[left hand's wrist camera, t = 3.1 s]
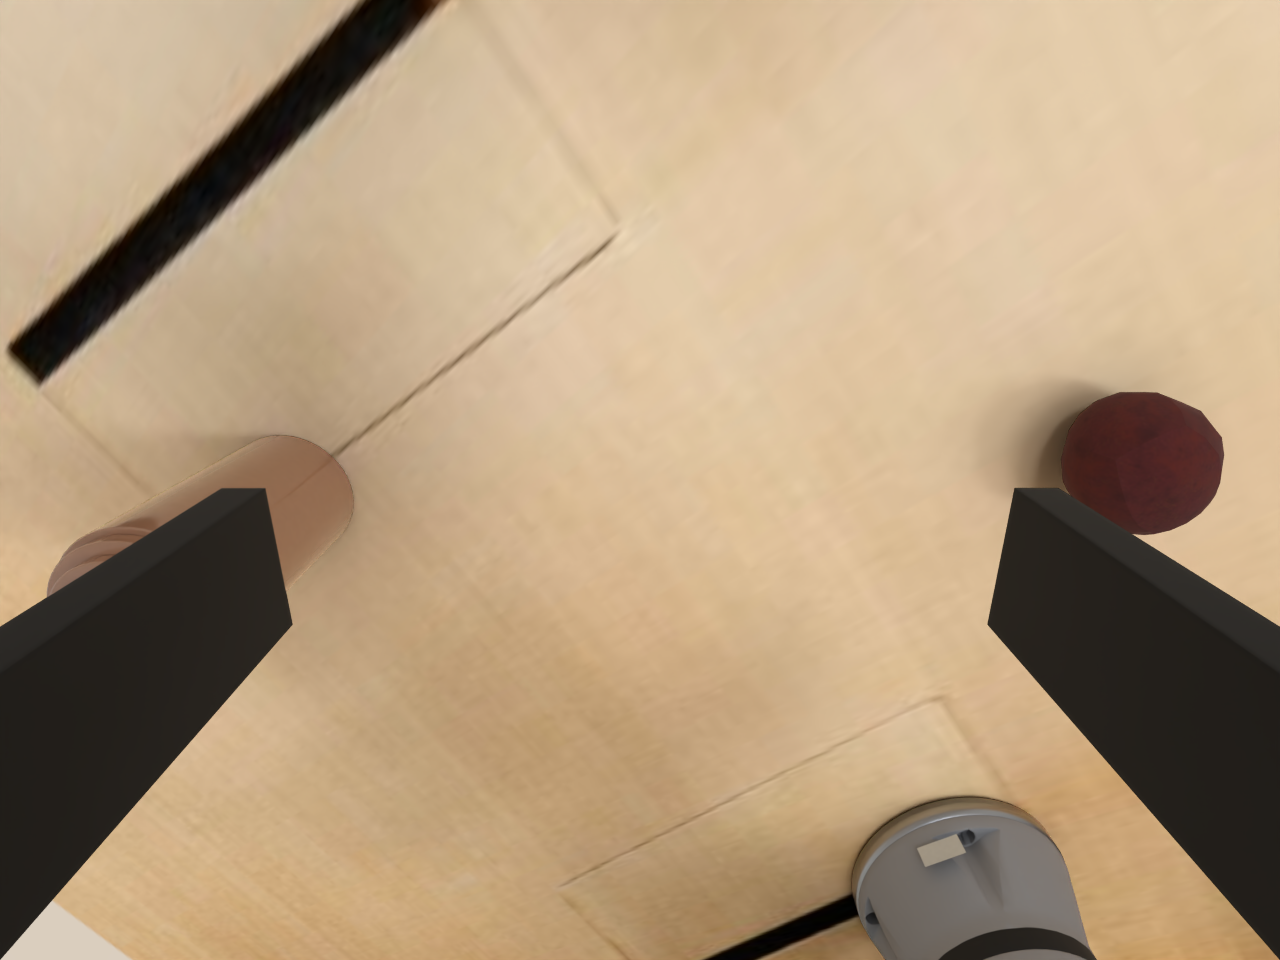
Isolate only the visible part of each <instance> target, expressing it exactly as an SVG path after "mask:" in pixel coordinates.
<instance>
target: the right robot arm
mask: <svg viewBox="0 0 1280 960" xmlns="http://www.w3.org/2000/svg"><path fill="white" fill-rule="evenodd" d="M852 893H853V898H854V901H855V904H856V907H857V910H858V913H859V917H860V920H861V922H862V925H863V927H864V929H865V930H866V932H867V934H868V935H869V937H870V939H871V940H872V942H873V943H874V945H875V946H876V947H877V949H878V950H879V952H880V953H881V954H882V956H883V957H884V959H885V960H1097V959H1096V958H1095V956H1094V955H1093V953H1092V951H1091V950H1090V948H1089V945H1088V942H1087V938H1086V934H1085V931H1084V927H1083V923H1082V920H1081V916H1080V912H1079V909H1078V905H1077V901H1076V898H1075V894H1074V891H1073V887H1072V884H1071V880H1070V876H1069V872H1068V869H1067V866H1066V864H1065V862H1064V859H1063V856H1062V854H1061V852H1060V851H1059V849H1058V848H1057V846H1056V845H1055V843H1054V842H1053V840H1052V839H1051V837H1050V836H1049V834H1048V833H1047V831H1046V830H1045V828H1044V827H1043V826H1042V825H1041V824H1040V823H1039V822H1038V821H1037V820H1036V819H1035V818H1034V817H1032V816H1031V815H1030V814H1028V813H1027V812H1025V811H1023V810H1021V809H1020V808H1018V807H1015V806H1013V805H1010V804H1007V803H1004V802H1001V801H997V800H992V799H985V798H971V797H970V798H953V799H946V800H941V801H936V802H932V803H929V804H926V805H923V806H920V807H917V808H915V809H912V810H910V811H908V812H906V813H904V814H902V815H900V816H898V817H897V818H895V819H893V820H892V821H890V822H889V823H888V824H886V825H885V826H884V827H882V828H881V829H880V830H879V831H878V832H877V833H876V834H875V835H874V836H873V837H872V838H871V839H870V840H869V841H868V843H867V844H866V845H865V846H864V848H863V850H862V851H861V853H860V855H859V857H858V859H857V861H856V864H855V866H854V870H853V874H852Z"/></svg>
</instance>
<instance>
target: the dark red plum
mask: <svg viewBox="0 0 1280 960" xmlns="http://www.w3.org/2000/svg"><path fill="white" fill-rule="evenodd" d="M1223 459H1224V451H1223V443H1222V437H1221V436H1220V435H1219V433H1218V432H1217V431H1216V430H1215V428H1214V427H1213V426H1212V424H1211V423H1210V422H1209V421H1208V419H1207V418H1206V417H1205V416H1204V414H1203V413H1202V412H1201V411H1200V410H1197V409H1195V408H1193V407H1191V406H1189V405H1186V404H1184V403H1182V402H1180V401H1177V400H1174V399H1172V398H1169V397H1167V396H1164V395H1162V394H1159V393H1152V392H1119V393H1117V394H1114V395H1111V396H1108V397H1105V398H1103V399H1100V400H1097V401H1096V402H1094V403H1093V404H1091V405H1090V406H1089V407H1088V408H1086V409H1085V410H1084V411H1083V412H1082V413H1080V414H1079V415H1078V417H1077V419H1076V420H1075V422H1074V423H1073V425H1072V426H1071V428H1070V429H1069V432H1068V435H1067V439H1066V442H1065V446H1064V450H1063V454H1062V458H1061V463H1062V476H1063V482H1064V484H1065V487H1066V489H1067V490H1068V492H1069V493H1070V495H1071V496H1072V497H1073V498H1075V499H1077V500H1078V501H1080V502H1081V503H1083V504H1085V505H1086V506H1088V507H1089V508H1091V509H1093V510H1094V511H1096V512H1097V513H1099V514H1101V515H1102V516H1104V517H1105V518H1107V519H1109V520H1110V521H1112V522H1113V523H1115V524H1117V525H1118V526H1120V527H1121V528H1123V529H1125V530H1126V531H1128V532H1129V533H1131V534H1138V535H1149V534H1156V533H1161V532H1165V531H1169V530H1172V529H1174V528H1177V527H1179V526H1181V525H1184V524H1186V523H1188V522H1189V521H1190V520H1192V519H1193V518H1195V517H1196V516H1197V515H1199V514H1200V513H1201V512H1202V511H1203V510H1204V509H1205V508H1206V507H1207V506H1208V505H1209V503H1210V502H1211V501H1212V499H1213V498H1214V496H1215V494H1216V492H1217V489H1218V487H1219V484H1220V480H1221V472H1222V465H1223Z"/></svg>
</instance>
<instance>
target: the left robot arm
mask: <svg viewBox="0 0 1280 960" xmlns="http://www.w3.org/2000/svg"><path fill="white" fill-rule="evenodd" d="M292 625H293V624H292V619H291V614H290V609H289V604H288V599H287V594H286V589H285V584H284V579H283V574H282V569H281V564H280V559H279V554H278V549H277V544H276V539H275V534H274V529H273V524H272V519H271V513H270V508H269V503H268V498H267V493H266V488H221V489H219V490H218V491H216V492H215V493H213V494H211V495H210V496H208V497H207V498H205V499H203V500H202V501H200V502H199V503H197V504H195V505H194V506H192V507H191V508H189V509H187V510H186V511H184V512H183V513H181V514H179V515H178V516H176V517H175V518H173V519H171V520H170V521H168V522H167V523H165V524H163V525H162V526H160V527H159V528H157V529H155V530H154V531H152V532H151V533H149V534H147V535H146V536H144V537H143V538H141V539H140V540H138V541H136V542H135V543H133V544H132V545H130V546H128V547H127V548H125V549H124V550H122V551H120V552H119V553H117V554H116V555H114V556H112V557H111V558H109V559H108V560H106V561H104V562H103V563H101V564H100V565H98V566H96V567H95V568H93V569H92V570H90V571H88V572H87V573H85V574H84V575H82V576H80V577H79V578H77V579H76V580H74V581H72V582H71V583H69V584H68V585H66V586H64V587H63V588H61V589H60V590H58V591H56V592H55V593H53V594H52V595H50V596H48V597H47V598H45V599H44V600H42V601H41V602H39V603H37V604H36V605H34V606H33V607H31V608H29V609H28V610H26V611H25V612H23V613H21V614H20V615H18V616H17V617H15V618H13V619H12V620H10V621H9V622H7V623H5V624H4V625H2V626H1V627H0V959H1V958H2V957H3V956H4V955H5V954H6V953H7V951H8V950H9V949H10V948H11V947H12V946H13V945H14V943H15V942H16V941H17V940H18V939H19V938H20V936H21V935H22V934H23V933H24V932H25V931H26V930H27V928H28V927H29V926H30V925H31V924H32V923H33V922H34V920H35V919H36V918H37V917H38V916H39V915H40V914H41V912H42V911H43V910H44V909H45V908H46V907H47V906H48V904H49V903H50V902H51V901H52V900H53V899H54V898H55V896H56V895H57V894H58V893H59V892H60V891H61V889H62V888H63V887H64V886H65V885H66V884H67V883H68V881H69V880H70V879H71V878H72V877H73V876H74V875H75V873H76V872H77V871H78V870H79V869H80V868H81V867H82V865H83V864H84V863H85V862H86V861H87V860H88V859H89V857H90V856H91V855H92V854H93V853H94V852H95V850H96V849H97V848H98V847H99V846H100V845H101V844H102V842H103V841H104V840H105V839H106V838H107V837H108V836H109V834H110V833H111V832H112V831H113V830H114V829H115V828H116V826H117V825H118V824H119V823H120V822H121V821H122V820H123V818H124V817H125V816H126V815H127V814H128V813H129V811H130V810H131V809H132V808H133V807H134V806H135V805H136V803H137V802H138V801H139V800H140V799H141V798H142V797H143V795H144V794H145V793H146V792H147V791H148V790H149V789H150V787H151V786H152V785H153V784H154V783H155V782H156V781H157V779H158V778H159V777H160V776H161V775H162V774H163V773H164V771H165V770H166V769H167V768H168V767H169V766H170V764H171V763H172V762H173V761H174V760H175V759H176V758H177V756H178V755H179V754H180V753H181V752H182V751H183V750H184V748H185V747H186V746H187V745H188V744H189V743H190V742H191V740H192V739H193V738H194V737H195V736H196V735H197V734H198V732H199V731H200V730H201V729H202V728H203V727H204V725H205V724H206V723H207V722H208V721H209V720H210V719H211V717H212V716H213V715H214V714H215V713H216V712H217V711H218V709H219V708H220V707H221V706H222V705H223V704H224V703H225V701H226V700H227V699H228V698H229V697H230V696H231V695H232V693H233V692H234V691H235V690H236V689H237V688H238V686H239V685H240V684H241V683H242V682H243V681H244V680H245V678H246V677H247V676H248V675H249V674H250V673H251V672H252V670H253V669H254V668H255V667H256V666H257V665H258V664H259V662H260V661H261V660H262V659H263V658H264V657H265V656H266V654H267V653H268V652H269V651H270V650H271V649H272V648H273V646H274V645H275V644H276V643H277V642H278V641H279V639H280V638H281V637H282V636H283V635H284V634H285V633H286V631H287V630H288V629H289V628H290V627H291V626H292ZM987 625H988V626H989V627H990V628H991V629H992V630H993V631H994V633H995V634H996V635H997V636H998V637H999V638H1000V639H1001V641H1002V642H1003V643H1004V644H1005V645H1006V646H1007V648H1008V649H1009V650H1010V651H1011V652H1012V653H1013V654H1014V656H1015V657H1016V658H1017V659H1018V660H1019V661H1020V662H1021V664H1022V665H1023V666H1024V667H1025V668H1026V669H1027V670H1028V672H1029V673H1030V674H1031V675H1032V676H1033V677H1034V678H1035V680H1036V681H1037V682H1038V683H1039V684H1040V685H1041V686H1042V688H1043V689H1044V690H1045V691H1046V692H1047V693H1048V695H1049V696H1050V697H1051V698H1052V699H1053V700H1054V701H1055V703H1056V704H1057V705H1058V706H1059V707H1060V708H1061V709H1062V711H1063V712H1064V713H1065V714H1066V715H1067V716H1068V717H1069V719H1070V720H1071V721H1072V722H1073V723H1074V724H1075V725H1076V727H1077V728H1078V729H1079V730H1080V731H1081V732H1082V734H1083V735H1084V736H1085V737H1086V738H1087V739H1088V740H1089V742H1090V743H1091V744H1092V745H1093V746H1094V747H1095V748H1096V750H1097V751H1098V752H1099V753H1100V754H1101V755H1102V756H1103V758H1104V759H1105V760H1106V761H1107V762H1108V763H1109V764H1110V766H1111V767H1112V768H1113V769H1114V770H1115V771H1116V773H1117V774H1118V775H1119V776H1120V777H1121V778H1122V779H1123V781H1124V782H1125V783H1126V784H1127V785H1128V786H1129V787H1130V789H1131V790H1132V791H1133V792H1134V793H1135V794H1136V795H1137V797H1138V798H1139V799H1140V800H1141V801H1142V802H1143V803H1144V805H1145V806H1146V807H1147V808H1148V809H1149V810H1150V811H1151V813H1152V814H1153V815H1154V816H1155V817H1156V818H1157V820H1158V821H1159V822H1160V823H1161V824H1162V825H1163V826H1164V828H1165V829H1166V830H1167V831H1168V832H1169V833H1170V834H1171V836H1172V837H1173V838H1174V839H1175V840H1176V841H1177V842H1178V844H1179V845H1180V846H1181V847H1182V848H1183V849H1184V850H1185V852H1186V853H1187V854H1188V855H1189V856H1190V857H1191V859H1192V860H1193V861H1194V862H1195V863H1196V864H1197V865H1198V867H1199V868H1200V869H1201V870H1202V871H1203V872H1204V873H1205V875H1206V876H1207V877H1208V878H1209V879H1210V880H1211V881H1212V883H1213V884H1214V885H1215V886H1216V887H1217V888H1218V889H1219V891H1220V892H1221V893H1222V894H1223V895H1224V896H1225V898H1226V899H1227V900H1228V901H1229V902H1230V903H1231V904H1232V906H1233V907H1234V908H1235V909H1236V910H1237V911H1238V912H1239V914H1240V915H1241V916H1242V917H1243V918H1244V919H1245V920H1246V922H1247V923H1248V924H1249V925H1250V926H1251V927H1252V928H1253V930H1254V931H1255V932H1256V933H1257V934H1258V935H1259V936H1260V938H1261V939H1262V940H1263V941H1264V942H1265V943H1266V945H1267V946H1268V947H1269V948H1270V949H1271V950H1272V951H1273V953H1274V954H1275V955H1276V956H1277V957H1278V958H1279V959H1280V627H1279V626H1278V625H1276V624H1275V623H1273V622H1271V621H1270V620H1268V619H1267V618H1265V617H1263V616H1262V615H1260V614H1259V613H1257V612H1255V611H1254V610H1252V609H1251V608H1249V607H1247V606H1246V605H1244V604H1243V603H1241V602H1239V601H1238V600H1236V599H1235V598H1233V597H1232V596H1230V595H1228V594H1227V593H1225V592H1224V591H1222V590H1220V589H1219V588H1217V587H1216V586H1214V585H1212V584H1211V583H1209V582H1208V581H1206V580H1204V579H1203V578H1201V577H1200V576H1198V575H1196V574H1195V573H1193V572H1192V571H1190V570H1188V569H1187V568H1185V567H1184V566H1182V565H1180V564H1179V563H1177V562H1176V561H1174V560H1172V559H1171V558H1169V557H1168V556H1166V555H1164V554H1163V553H1161V552H1160V551H1158V550H1156V549H1155V548H1153V547H1152V546H1150V545H1148V544H1147V543H1145V542H1144V541H1142V540H1140V539H1139V538H1137V537H1136V536H1134V535H1133V534H1131V533H1129V532H1128V531H1126V530H1125V529H1123V528H1121V527H1120V526H1118V525H1117V524H1115V523H1113V522H1112V521H1110V520H1109V519H1107V518H1105V517H1104V516H1102V515H1101V514H1099V513H1097V512H1096V511H1094V510H1093V509H1091V508H1089V507H1088V506H1086V505H1085V504H1083V503H1081V502H1080V501H1078V500H1077V499H1075V498H1073V497H1072V496H1070V495H1069V494H1067V493H1065V492H1064V491H1062V490H1061V489H1059V488H1014V493H1013V498H1012V503H1011V508H1010V513H1009V519H1008V524H1007V529H1006V534H1005V539H1004V544H1003V549H1002V554H1001V559H1000V564H999V569H998V574H997V579H996V584H995V589H994V594H993V599H992V604H991V609H990V614H989V619H988V624H987Z"/></svg>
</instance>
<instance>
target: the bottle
mask: <svg viewBox="0 0 1280 960" xmlns="http://www.w3.org/2000/svg"><path fill="white" fill-rule="evenodd" d="M221 488H266V493H267V498H268V503H269V508H270V513H271V519H272V524H273V529H274V534H275V539H276V544H277V549H278V554H279V559H280V564H281V569H282V574H283V579H284V584H285V589H286V591H287V590H288V589H289V588H290V587H291V586H292V585H293V584H294V583H295V582H296V581H297V580H298V579H299V578H300V577H301V576H302V575H303V574H304V573H305V572H306V571H307V570H308V569H309V567H310V566H311V565H312V564H313V563H314V562H315V561H316V560H317V559H318V558H319V557H320V556H321V555H322V554H323V553H324V552H325V551H326V550H327V549H328V548H329V547H330V546H331V545H332V544H333V543H334V542H335V541H336V540H337V539H338V538H339V536H340V535H341V534H342V533H343V532H344V531H345V529H346V528H347V526H348V524H349V522H350V520H351V516H352V512H353V493H352V489H351V485H350V482H349V480H348V478H347V476H346V474H345V472H344V470H343V469H342V468H341V466H340V465H339V464H338V462H337V461H336V460H335V459H334V458H333V457H332V456H331V455H329V454H328V453H327V452H326V451H325V450H323V449H322V448H320V447H319V446H317V445H315V444H313V443H311V442H309V441H306V440H304V439H300V438H296V437H292V436H280V435H276V436H268V437H264V438H260V439H258V440H256V441H253V442H251V443H250V444H248V445H246V446H244V447H243V448H241V449H239V450H237V451H235V452H234V453H232V454H230V455H228V456H226V457H225V458H223V459H221V460H219V461H217V462H216V463H214V464H212V465H210V466H208V467H207V468H205V469H203V470H201V471H199V472H198V473H196V474H194V475H192V476H190V477H189V478H187V479H185V480H183V481H181V482H180V483H178V484H176V485H174V486H172V487H171V488H169V489H167V490H165V491H164V492H162V493H160V494H158V495H156V496H155V497H153V498H151V499H149V500H147V501H146V502H144V503H142V504H140V505H138V506H137V507H135V508H133V509H131V510H129V511H128V512H126V513H124V514H122V515H120V516H119V517H117V518H115V519H113V520H111V521H110V522H108V523H106V524H104V525H102V526H101V527H99V528H97V529H95V530H94V531H92V532H90V533H88V534H86V535H85V536H83V537H81V538H80V539H78V540H77V541H76V542H74V543H73V544H72V545H71V546H70V547H69V548H68V549H67V550H66V552H65V553H64V554H63V556H62V558H61V560H60V561H59V563H58V564H57V565H56V567H55V569H54V571H53V572H52V574H51V577H50V580H49V582H48V588H47V597H48V596H50V595H52V594H53V593H55V592H56V591H58V590H60V589H61V588H63V587H64V586H66V585H68V584H69V583H71V582H72V581H74V580H76V579H77V578H79V577H80V576H82V575H84V574H85V573H87V572H88V571H90V570H92V569H93V568H95V567H96V566H98V565H100V564H101V563H103V562H104V561H106V560H108V559H109V558H111V557H112V556H114V555H116V554H117V553H119V552H120V551H122V550H124V549H125V548H127V547H128V546H130V545H132V544H133V543H135V542H136V541H138V540H140V539H141V538H143V537H144V536H146V535H147V534H149V533H151V532H152V531H154V530H155V529H157V528H159V527H160V526H162V525H163V524H165V523H167V522H168V521H170V520H171V519H173V518H175V517H176V516H178V515H179V514H181V513H183V512H184V511H186V510H187V509H189V508H191V507H192V506H194V505H195V504H197V503H199V502H200V501H202V500H203V499H205V498H207V497H208V496H210V495H211V494H213V493H215V492H216V491H218V490H219V489H221Z"/></svg>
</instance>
